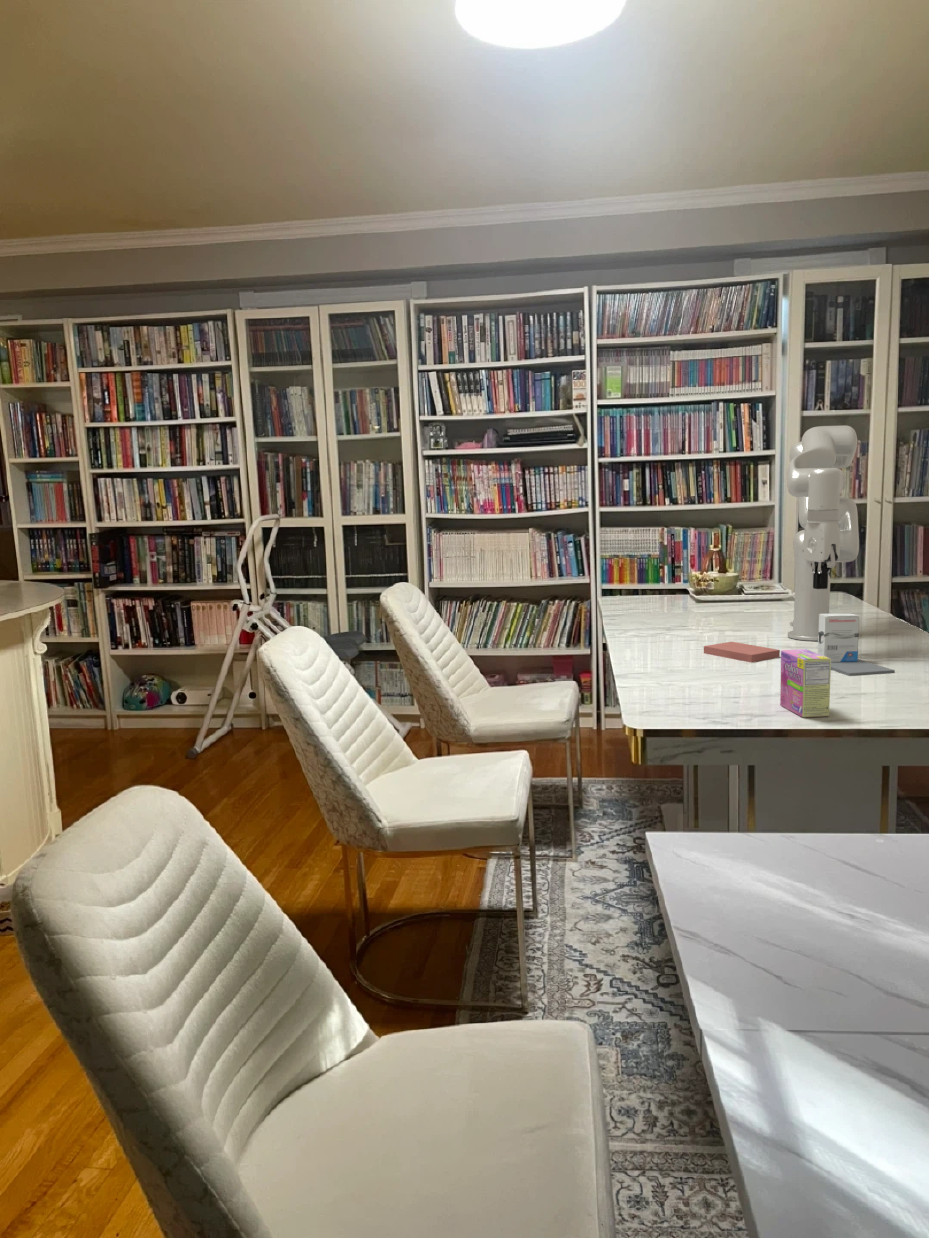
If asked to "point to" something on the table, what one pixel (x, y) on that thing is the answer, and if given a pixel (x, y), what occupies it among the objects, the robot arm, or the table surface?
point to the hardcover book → (742, 651)
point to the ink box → (839, 637)
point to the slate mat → (859, 668)
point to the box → (805, 682)
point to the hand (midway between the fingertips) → (820, 588)
